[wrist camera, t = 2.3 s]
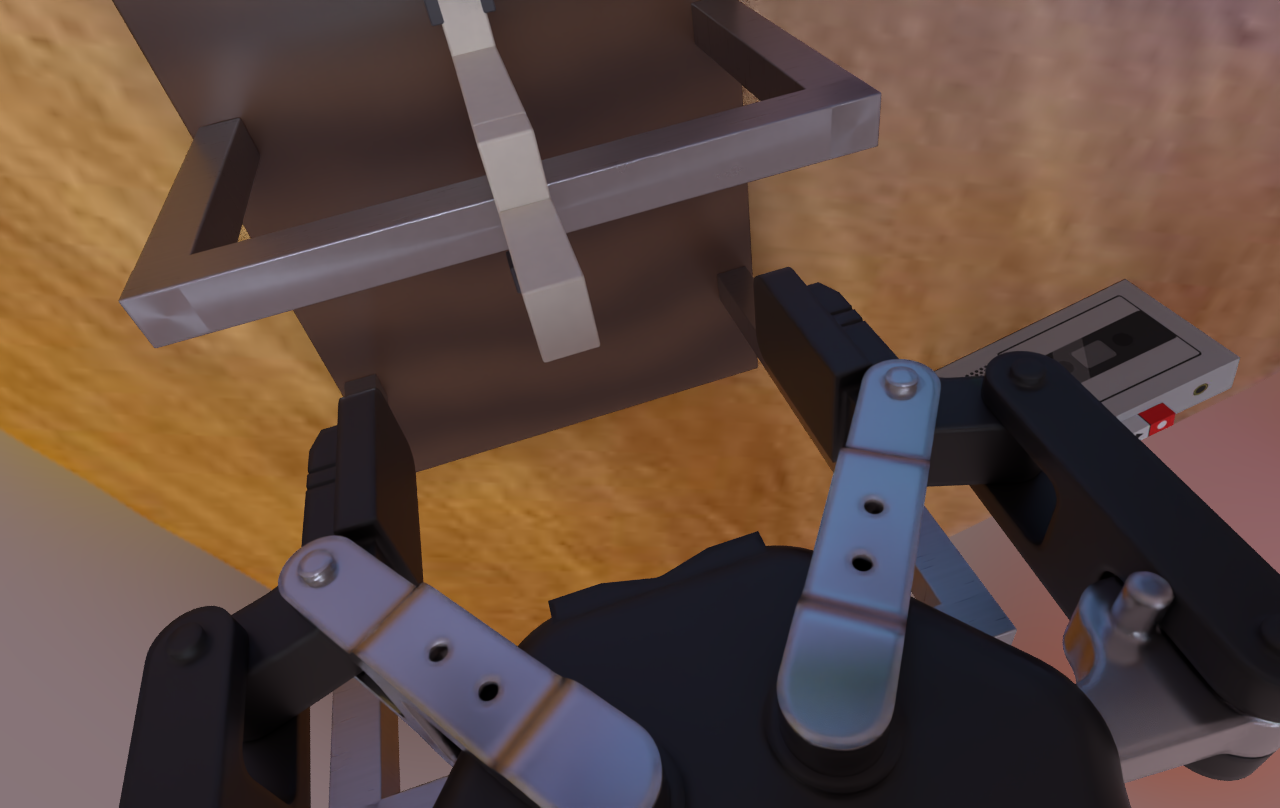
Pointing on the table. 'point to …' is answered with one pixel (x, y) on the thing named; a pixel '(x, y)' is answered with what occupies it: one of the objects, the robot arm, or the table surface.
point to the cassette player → (1123, 356)
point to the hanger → (518, 184)
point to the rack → (487, 225)
